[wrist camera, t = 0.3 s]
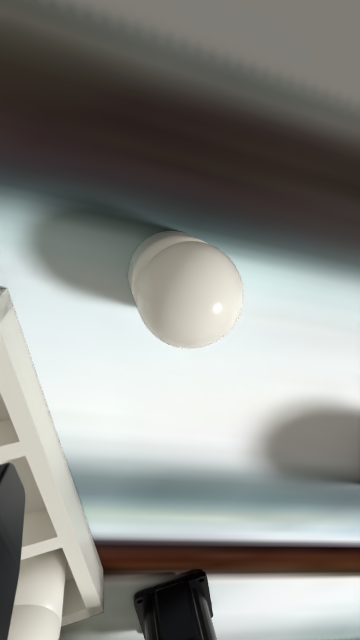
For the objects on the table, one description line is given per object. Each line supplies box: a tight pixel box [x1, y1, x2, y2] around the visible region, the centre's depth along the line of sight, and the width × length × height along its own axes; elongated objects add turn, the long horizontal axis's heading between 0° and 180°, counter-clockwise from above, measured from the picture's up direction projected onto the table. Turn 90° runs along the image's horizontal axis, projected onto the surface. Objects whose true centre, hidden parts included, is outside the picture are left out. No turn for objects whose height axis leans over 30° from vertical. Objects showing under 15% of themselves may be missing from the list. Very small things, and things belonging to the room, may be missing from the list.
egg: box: [128, 231, 244, 349], centre depth 17 cm, size 5×5×7 cm
